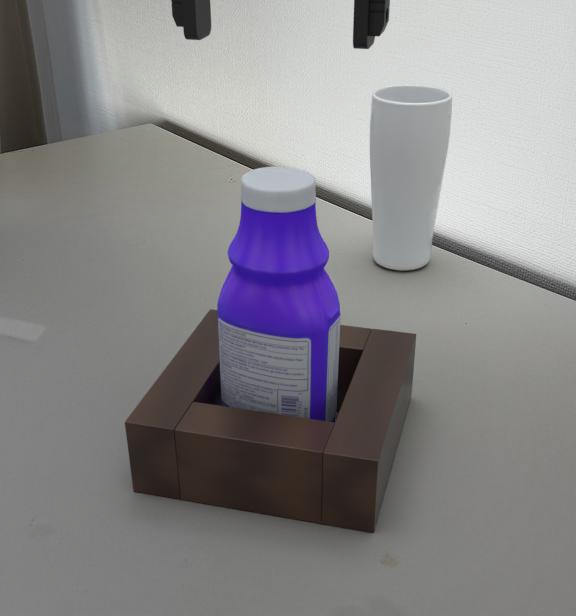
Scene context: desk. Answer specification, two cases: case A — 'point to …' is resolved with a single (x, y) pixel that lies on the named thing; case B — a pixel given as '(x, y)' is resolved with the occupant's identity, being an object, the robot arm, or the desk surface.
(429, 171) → the drinking glass
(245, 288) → the bottle
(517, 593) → the desk surface
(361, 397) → the frame
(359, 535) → the desk surface
